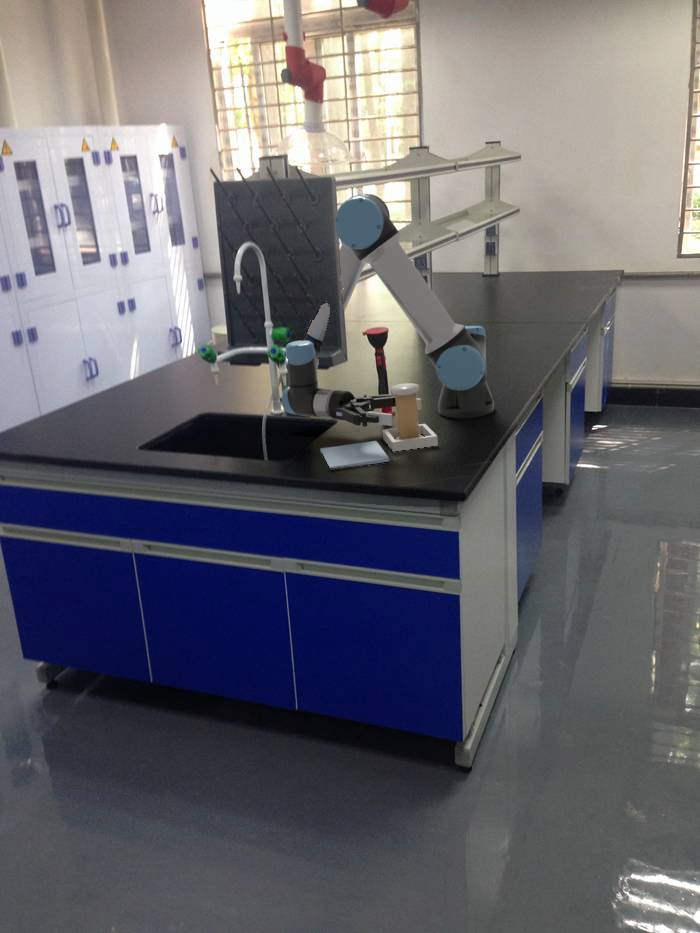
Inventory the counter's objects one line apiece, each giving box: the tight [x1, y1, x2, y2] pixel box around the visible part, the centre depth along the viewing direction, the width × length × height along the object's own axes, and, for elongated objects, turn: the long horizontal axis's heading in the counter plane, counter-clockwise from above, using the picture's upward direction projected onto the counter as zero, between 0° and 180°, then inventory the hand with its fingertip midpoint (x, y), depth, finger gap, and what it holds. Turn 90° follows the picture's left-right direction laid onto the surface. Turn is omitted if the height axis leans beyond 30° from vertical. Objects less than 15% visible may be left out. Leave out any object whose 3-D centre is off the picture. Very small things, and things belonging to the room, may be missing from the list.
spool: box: [389, 382, 424, 441], centre depth 202 cm, size 7×7×14 cm
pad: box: [319, 440, 390, 469], centre depth 198 cm, size 14×14×1 cm
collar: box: [382, 423, 439, 453], centre depth 205 cm, size 11×11×2 cm
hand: (406, 411), depth 202 cm, fingers open, 13 cm apart
